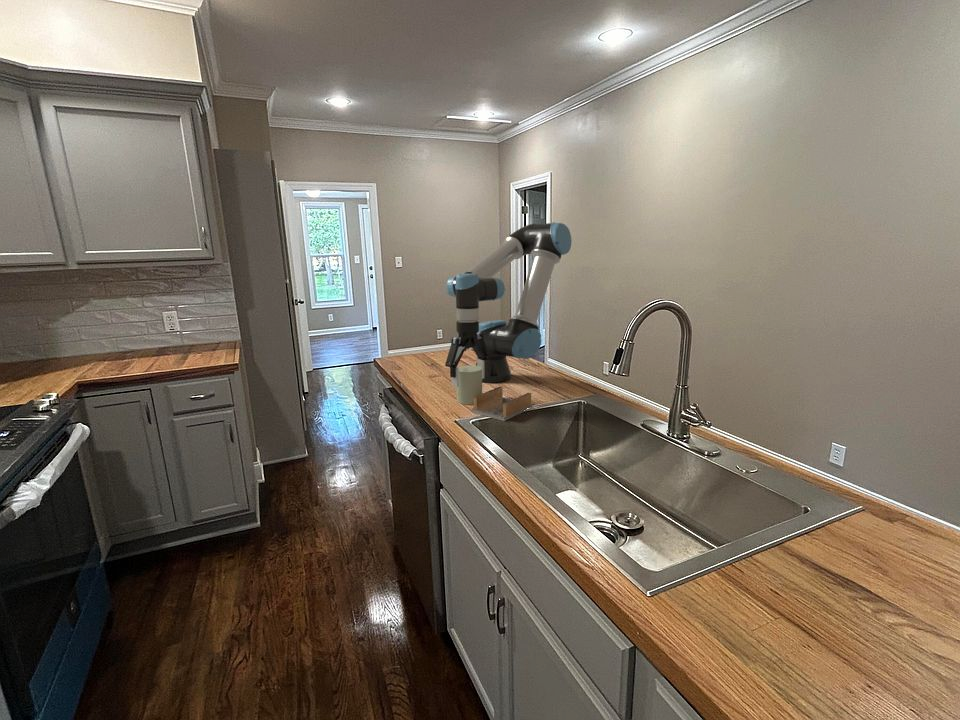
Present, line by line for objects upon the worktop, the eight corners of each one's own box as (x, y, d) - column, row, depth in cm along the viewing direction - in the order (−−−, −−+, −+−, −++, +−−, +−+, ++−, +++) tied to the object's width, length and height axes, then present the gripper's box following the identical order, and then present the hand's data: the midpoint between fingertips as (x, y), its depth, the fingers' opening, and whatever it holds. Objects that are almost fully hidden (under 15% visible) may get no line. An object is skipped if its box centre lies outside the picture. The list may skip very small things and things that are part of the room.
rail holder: (501, 399, 166) (501, 385, 165) (532, 406, 158) (533, 392, 157) (471, 412, 154) (471, 397, 153) (504, 421, 146) (504, 405, 145)
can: (451, 402, 164) (450, 368, 161) (464, 394, 172) (463, 362, 169) (475, 406, 160) (474, 371, 157) (487, 398, 168) (487, 365, 165)
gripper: (482, 315, 171) (482, 373, 176) (433, 324, 152) (435, 388, 157) (499, 317, 166) (498, 376, 171) (450, 326, 147) (451, 392, 152)
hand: (468, 382), depth 164 cm, fingers open, 13 cm apart
